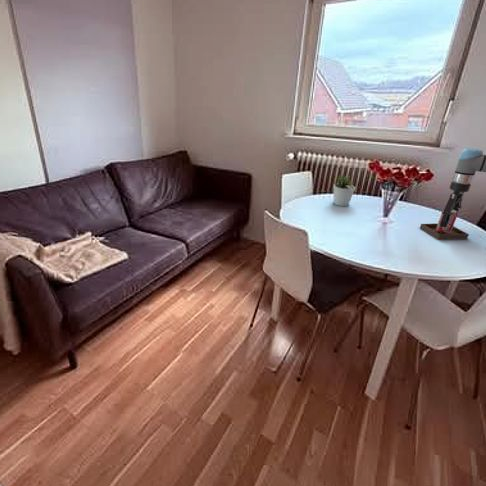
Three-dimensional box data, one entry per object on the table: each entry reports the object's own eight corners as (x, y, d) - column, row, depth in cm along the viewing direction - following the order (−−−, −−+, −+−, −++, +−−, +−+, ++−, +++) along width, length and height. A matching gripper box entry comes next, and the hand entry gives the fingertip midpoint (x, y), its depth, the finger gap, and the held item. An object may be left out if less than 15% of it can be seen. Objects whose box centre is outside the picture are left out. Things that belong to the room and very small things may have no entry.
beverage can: (453, 234, 156) (461, 212, 151) (443, 235, 155) (451, 213, 150) (442, 229, 162) (450, 207, 157) (432, 230, 160) (440, 208, 155)
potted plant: (327, 199, 203) (333, 169, 195) (350, 201, 200) (356, 171, 191) (329, 205, 192) (334, 174, 184) (352, 208, 189) (360, 176, 180)
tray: (467, 239, 153) (468, 234, 152) (437, 239, 152) (439, 234, 151) (446, 227, 165) (448, 223, 164) (419, 228, 164) (421, 223, 163)
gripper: (459, 176, 157) (446, 214, 166) (443, 185, 142) (430, 227, 151) (478, 179, 152) (463, 219, 161) (463, 189, 137) (448, 232, 146)
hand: (447, 223), depth 156 cm, fingers open, 13 cm apart
